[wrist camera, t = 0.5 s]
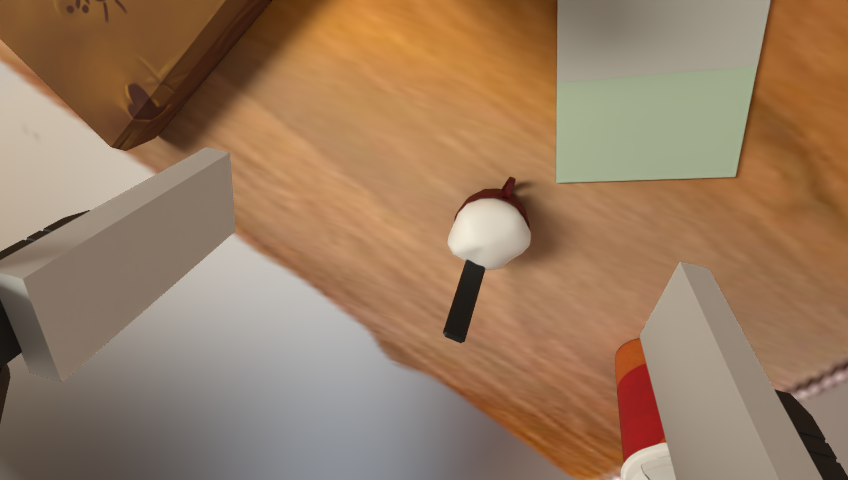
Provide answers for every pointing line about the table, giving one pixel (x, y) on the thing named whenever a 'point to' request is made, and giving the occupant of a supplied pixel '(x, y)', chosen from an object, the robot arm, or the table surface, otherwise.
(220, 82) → the table surface
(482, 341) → the table surface
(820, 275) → the table surface
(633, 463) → the paper cup
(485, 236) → the cocoa
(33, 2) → the diary
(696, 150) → the mat
